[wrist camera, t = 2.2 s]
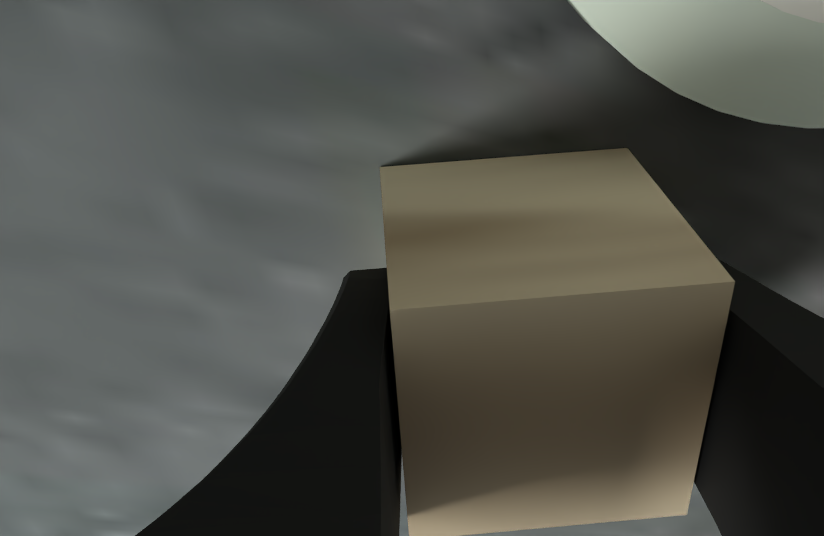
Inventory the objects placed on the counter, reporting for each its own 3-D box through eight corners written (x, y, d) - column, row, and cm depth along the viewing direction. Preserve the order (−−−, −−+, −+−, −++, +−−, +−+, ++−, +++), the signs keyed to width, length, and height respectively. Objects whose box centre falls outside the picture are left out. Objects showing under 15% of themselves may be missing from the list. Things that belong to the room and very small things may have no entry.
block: (606, 345, 14) (687, 514, 11) (396, 362, 14) (409, 539, 11) (627, 148, 12) (735, 280, 9) (380, 167, 12) (390, 310, 8)
